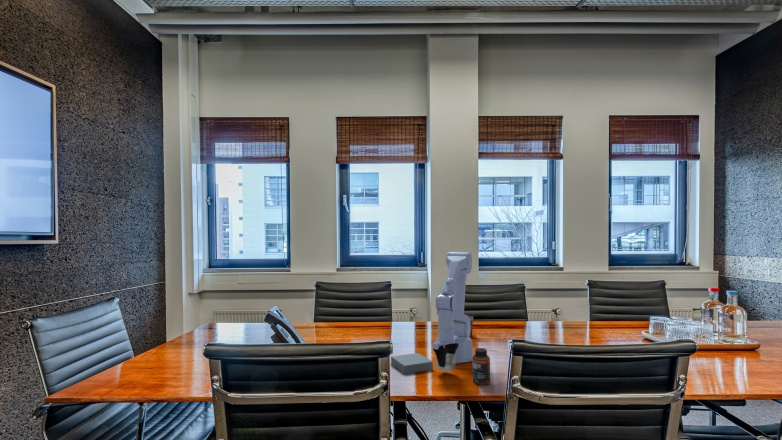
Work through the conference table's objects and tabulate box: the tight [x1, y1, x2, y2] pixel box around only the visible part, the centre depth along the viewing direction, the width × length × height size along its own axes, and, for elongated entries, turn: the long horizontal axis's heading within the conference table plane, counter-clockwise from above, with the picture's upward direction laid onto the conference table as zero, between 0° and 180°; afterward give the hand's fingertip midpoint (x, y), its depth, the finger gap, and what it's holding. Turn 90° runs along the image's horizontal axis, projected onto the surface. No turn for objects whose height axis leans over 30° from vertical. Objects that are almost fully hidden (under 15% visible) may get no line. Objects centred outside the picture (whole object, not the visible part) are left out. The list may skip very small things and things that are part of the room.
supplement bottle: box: [472, 347, 491, 386], centre depth 141 cm, size 6×6×11 cm
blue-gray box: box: [390, 352, 434, 375], centre depth 156 cm, size 12×12×3 cm
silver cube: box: [435, 353, 456, 373], centre depth 149 cm, size 5×5×5 cm
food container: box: [456, 314, 474, 337], centre depth 208 cm, size 12×6×10 cm, turn 17°
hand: (445, 364), depth 149 cm, fingers closed on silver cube, 5 cm apart
